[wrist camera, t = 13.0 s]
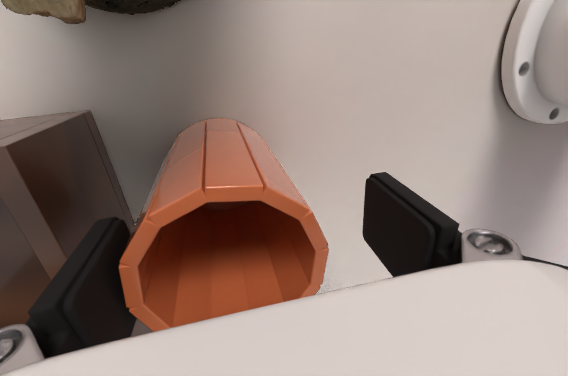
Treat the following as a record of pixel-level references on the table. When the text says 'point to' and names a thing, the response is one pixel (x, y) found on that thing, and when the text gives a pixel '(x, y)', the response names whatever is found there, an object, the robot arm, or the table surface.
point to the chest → (50, 203)
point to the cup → (220, 232)
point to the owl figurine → (83, 7)
